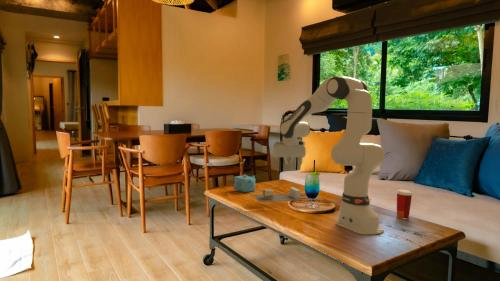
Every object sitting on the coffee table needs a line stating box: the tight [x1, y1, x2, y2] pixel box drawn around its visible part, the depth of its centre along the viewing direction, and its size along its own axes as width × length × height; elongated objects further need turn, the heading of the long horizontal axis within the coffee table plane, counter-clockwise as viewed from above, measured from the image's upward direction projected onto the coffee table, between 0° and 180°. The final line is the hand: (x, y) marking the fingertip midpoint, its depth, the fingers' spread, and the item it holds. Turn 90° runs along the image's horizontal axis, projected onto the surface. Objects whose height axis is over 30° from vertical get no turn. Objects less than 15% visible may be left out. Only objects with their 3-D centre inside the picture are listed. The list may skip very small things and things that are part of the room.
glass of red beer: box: [395, 189, 413, 219], centre depth 172 cm, size 8×8×14 cm
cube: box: [262, 188, 275, 199], centre depth 199 cm, size 5×5×5 cm
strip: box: [253, 186, 301, 202], centre depth 201 cm, size 11×26×6 cm, turn 107°
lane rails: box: [249, 192, 321, 203], centre depth 202 cm, size 14×40×1 cm, turn 107°
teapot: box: [233, 174, 256, 193], centre depth 216 cm, size 16×18×11 cm
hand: (288, 164), depth 201 cm, fingers closed
